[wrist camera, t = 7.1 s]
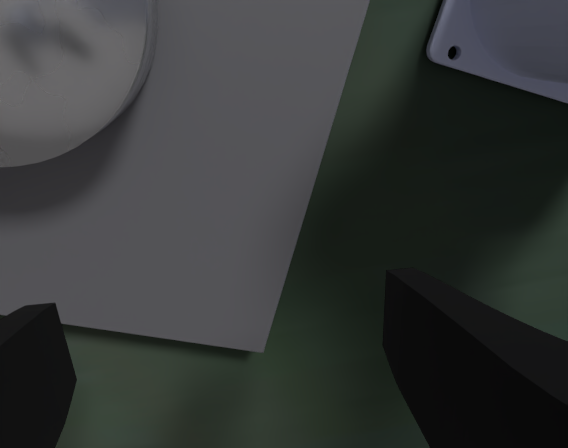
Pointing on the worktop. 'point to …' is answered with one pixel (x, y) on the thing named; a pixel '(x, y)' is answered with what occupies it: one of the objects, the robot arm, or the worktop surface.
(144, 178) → the base plate
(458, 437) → the robot arm
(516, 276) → the worktop surface
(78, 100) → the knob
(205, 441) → the worktop surface
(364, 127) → the worktop surface
